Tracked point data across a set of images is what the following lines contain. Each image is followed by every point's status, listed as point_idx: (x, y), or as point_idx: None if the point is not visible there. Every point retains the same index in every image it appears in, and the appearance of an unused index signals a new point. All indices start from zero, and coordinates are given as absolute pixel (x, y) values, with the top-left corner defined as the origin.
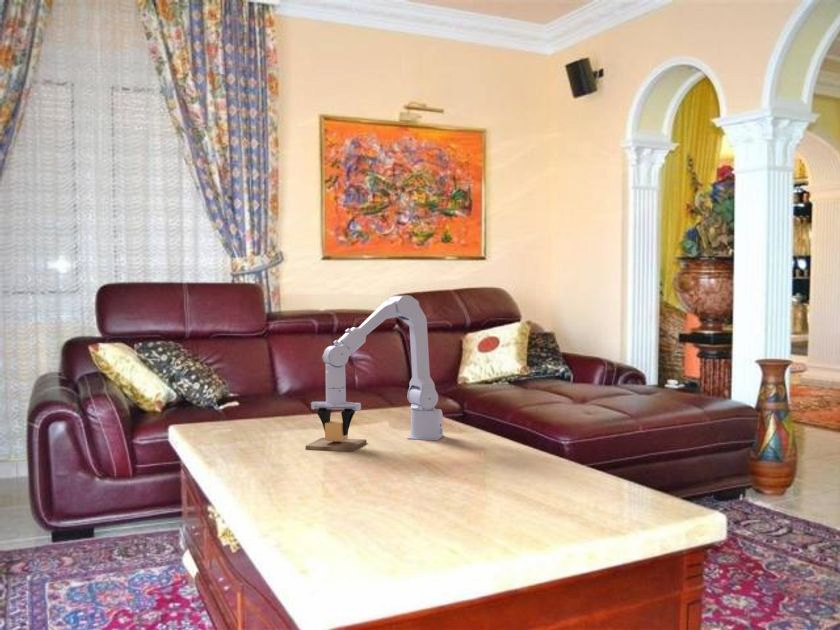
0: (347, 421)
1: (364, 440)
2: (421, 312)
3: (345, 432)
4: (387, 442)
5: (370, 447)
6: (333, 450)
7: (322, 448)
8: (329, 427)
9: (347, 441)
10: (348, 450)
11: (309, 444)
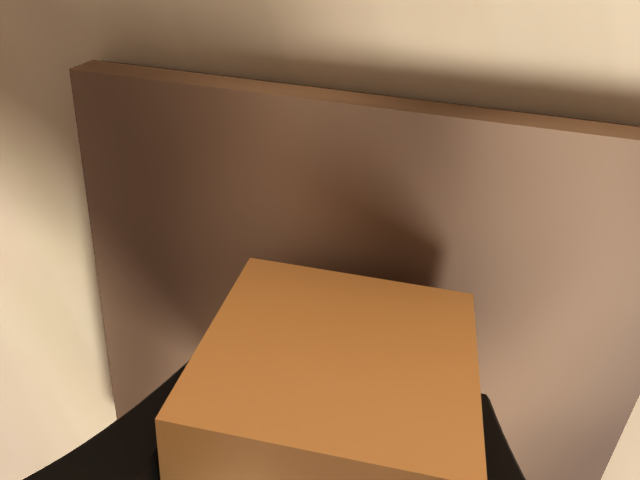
0: (48, 468)
1: (118, 414)
2: None
3: (184, 365)
4: (8, 448)
5: (39, 290)
6: (324, 89)
7: (474, 111)
8: (397, 412)
9: None
10: (132, 66)
11: None
